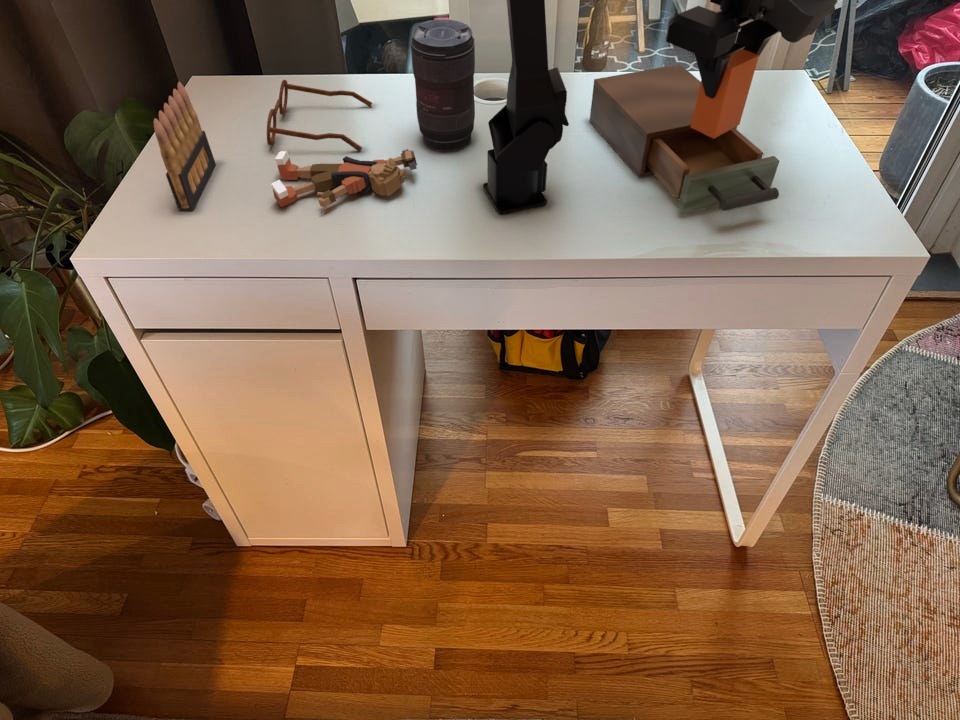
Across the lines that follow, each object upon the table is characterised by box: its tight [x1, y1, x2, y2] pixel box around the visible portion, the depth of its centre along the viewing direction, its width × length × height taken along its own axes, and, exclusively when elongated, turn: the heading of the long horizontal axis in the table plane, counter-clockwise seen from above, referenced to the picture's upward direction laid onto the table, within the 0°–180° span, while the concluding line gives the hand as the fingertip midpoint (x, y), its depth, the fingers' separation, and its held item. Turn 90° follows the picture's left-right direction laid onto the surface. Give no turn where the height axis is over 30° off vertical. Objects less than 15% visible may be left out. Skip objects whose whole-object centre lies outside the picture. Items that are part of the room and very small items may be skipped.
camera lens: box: [410, 18, 476, 152], centre depth 94 cm, size 8×8×15 cm
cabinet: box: [589, 63, 738, 179], centre depth 96 cm, size 15×13×6 cm
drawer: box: [646, 128, 780, 214], centre depth 88 cm, size 19×12×5 cm, turn 19°
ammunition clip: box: [153, 81, 217, 212], centre depth 88 cm, size 11×2×12 cm, turn 179°
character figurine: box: [271, 148, 418, 209], centre depth 90 cm, size 12×5×18 cm
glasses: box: [266, 79, 373, 152], centre depth 100 cm, size 13×13×5 cm
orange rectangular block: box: [691, 49, 760, 139], centre depth 82 cm, size 5×4×8 cm
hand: (724, 89), depth 82 cm, fingers closed on orange rectangular block, 5 cm apart
